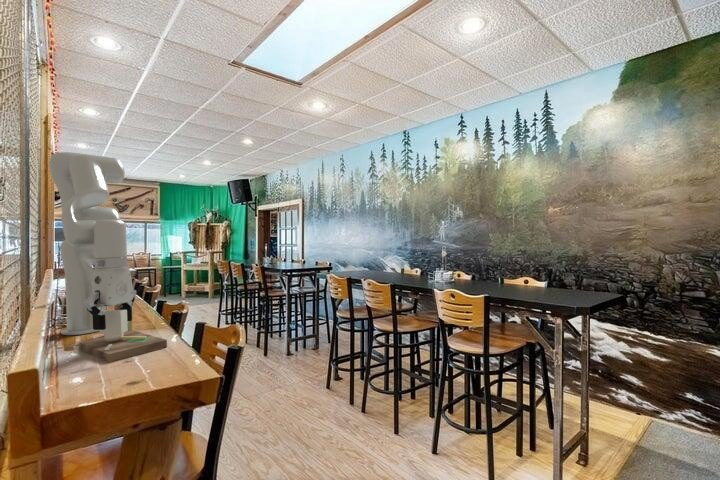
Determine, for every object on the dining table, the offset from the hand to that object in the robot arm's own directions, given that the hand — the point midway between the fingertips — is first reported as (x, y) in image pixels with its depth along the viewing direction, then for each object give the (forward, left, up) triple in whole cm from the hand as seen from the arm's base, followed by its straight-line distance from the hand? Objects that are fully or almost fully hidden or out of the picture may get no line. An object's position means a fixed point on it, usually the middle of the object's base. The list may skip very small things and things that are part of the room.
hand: (113, 325), depth 101 cm
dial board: (+3, +1, -6) cm, 7 cm away
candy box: (-14, +8, -6) cm, 17 cm away
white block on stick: (+3, +2, -4) cm, 5 cm away
